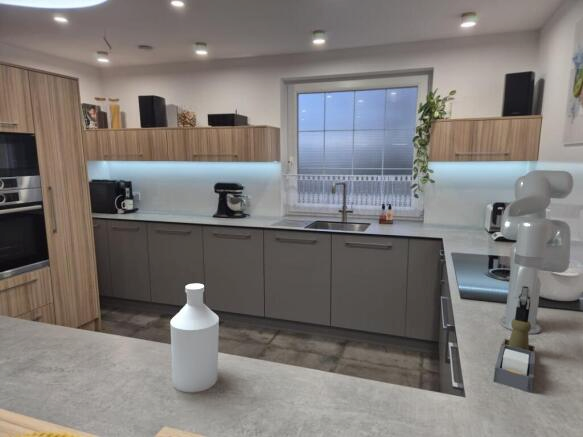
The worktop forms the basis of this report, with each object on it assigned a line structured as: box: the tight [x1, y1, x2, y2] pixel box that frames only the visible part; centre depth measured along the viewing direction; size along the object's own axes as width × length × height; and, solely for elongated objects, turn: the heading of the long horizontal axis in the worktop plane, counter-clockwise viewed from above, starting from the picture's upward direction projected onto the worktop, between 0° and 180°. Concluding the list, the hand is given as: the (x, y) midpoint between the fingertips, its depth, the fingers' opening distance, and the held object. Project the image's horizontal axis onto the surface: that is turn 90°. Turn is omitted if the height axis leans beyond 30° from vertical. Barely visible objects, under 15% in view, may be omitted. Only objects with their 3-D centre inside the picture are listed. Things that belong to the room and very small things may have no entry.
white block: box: [502, 349, 529, 376], centre depth 99 cm, size 6×6×7 cm
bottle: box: [170, 282, 220, 393], centre depth 94 cm, size 12×12×25 cm
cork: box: [508, 319, 531, 350], centre depth 114 cm, size 6×6×11 cm
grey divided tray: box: [493, 343, 536, 394], centre depth 103 cm, size 17×9×4 cm, turn 145°
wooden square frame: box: [502, 338, 536, 352], centre depth 114 cm, size 8×8×2 cm
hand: (522, 316), depth 112 cm, fingers open, 9 cm apart
